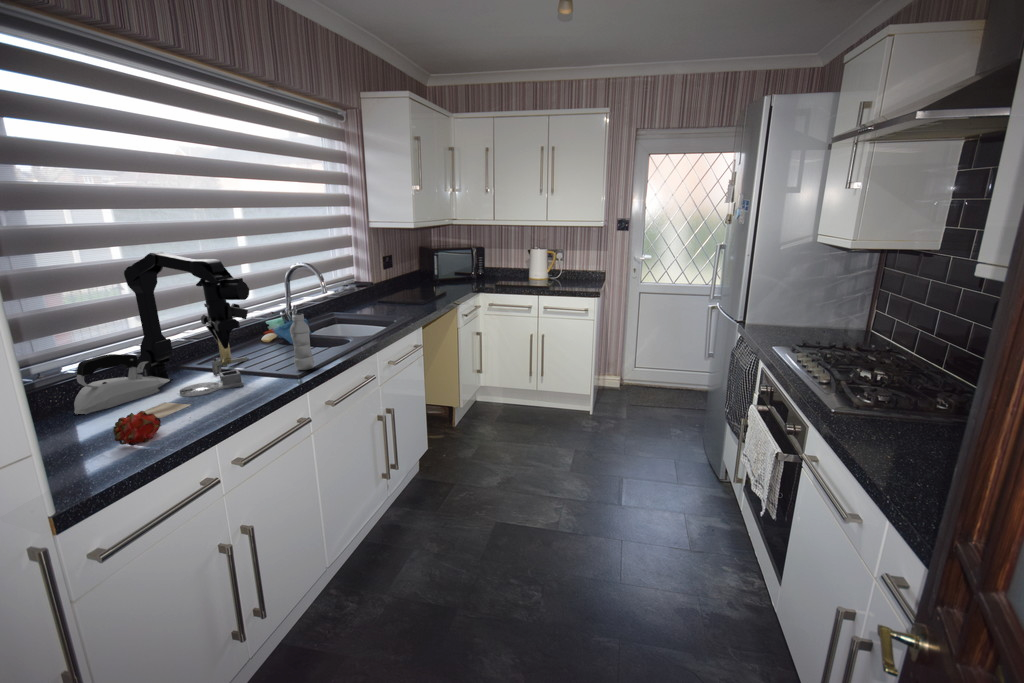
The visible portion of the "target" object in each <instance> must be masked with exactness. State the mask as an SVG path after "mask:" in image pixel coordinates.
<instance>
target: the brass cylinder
mask: <svg viewBox="0 0 1024 683" xmlns="http://www.w3.org/2000/svg"><path fill="white" fill-rule="evenodd" d="M217 344H218V350H219V356H220V357H219V358H220V360H221V364H227V365H231V364H230V363H232V360H231V359H232V355H231V348H230V343H229V344H228V348H226V349H224V348H223V346H222V344H221V343H220V341H219V340H218V342H217ZM232 364H233V363H232Z"/></svg>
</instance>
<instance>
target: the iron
mask: <svg viewBox="0 0 1024 683" xmlns="http://www.w3.org/2000/svg"><path fill="white" fill-rule="evenodd" d="M137 359H138V356H137V355H135V354H125V353H124V354H119V353H118V354H117V353H115V354H113V353H112V354H111V353H110V354H102V355H99V356H96V357H91V358H88V359H85V360H84V359H83V360H81V361H80V362H79V363H78V365H77V368H76V369H77V370H76V381H77V383H78V384H79V385H81V386H83V387H82V388H81V389H80V390H79V392H77V393H78V394H77V395H76V396H75V399H74V402H73V405H74V413H75V414H74V413H73V414H74V415H78V414H85V415H87V414H91V413H95V412H98V411H103V410H106V409H110V408H114V407H116V406H118V405H123V404H125V403H129V402H133V401H134V400H135V401H136V400H139V399H142V398H145V397H149V396H151V395H154V394H157V393H159V392H160V389H159V388H160V387H162V386H163V385H165V384H167V383H168V382H171V381H170V380H169V379H164V378H159V377H154V376H148V377H145V376H143V374H141V373H144V371H143V368H144V366H145V364H146V363H148V362H149V361H148V362H141V363H140V364H139V365H138V367H137ZM120 366H122V367H123V368H128V373H127V374H128V375H127V377H126V376H122V377H113V378H107V379H101V380H97V381H92V382H90V383H86V382H85V377H89V376H91V375H94V373H95V371H96V370H99V369H109V368H116V367H120Z"/></svg>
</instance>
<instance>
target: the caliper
mask: <svg viewBox="0 0 1024 683" xmlns="http://www.w3.org/2000/svg"><path fill="white" fill-rule="evenodd" d="M212 360H213V361H211V366H212V367H211V370H212V374H213V376H218V375H220V374H219V373H222V368H226V367H227V368H228V364H221V359H219V357H213V358H212ZM231 360H232V363H230V364H229V365H231V364H236V363H241V362H246V361H248V360H250V358H249V357H248V356H243V357H238V358H231Z"/></svg>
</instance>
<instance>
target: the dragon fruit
mask: <svg viewBox="0 0 1024 683" xmlns="http://www.w3.org/2000/svg"><path fill="white" fill-rule="evenodd" d="M144 411H145V410H139V412H137V413H136V415H135V413H132V412H131V413H130V414H128V415H126V417H125V416H124V417H123V416H122V417H119V418H118V420H117V421H116V422H114V426H113V427H112V430H113V431H112V432H113V435H114V441H116V442H119V444H120V445H122V446H123V445H128V444H129V445H130V446H131V447H133V446H135V444H136V443H140V444H141V443H148V442H149V439H153V438H154V436H155V434H156V435H157V432H158V431H159V430H160V428H161V427H162V424H161V423H162V420H161V418H157V417H156V416H155V415H154V414H153V413H151V414H146V412H144ZM122 441H123V442H122Z"/></svg>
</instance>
